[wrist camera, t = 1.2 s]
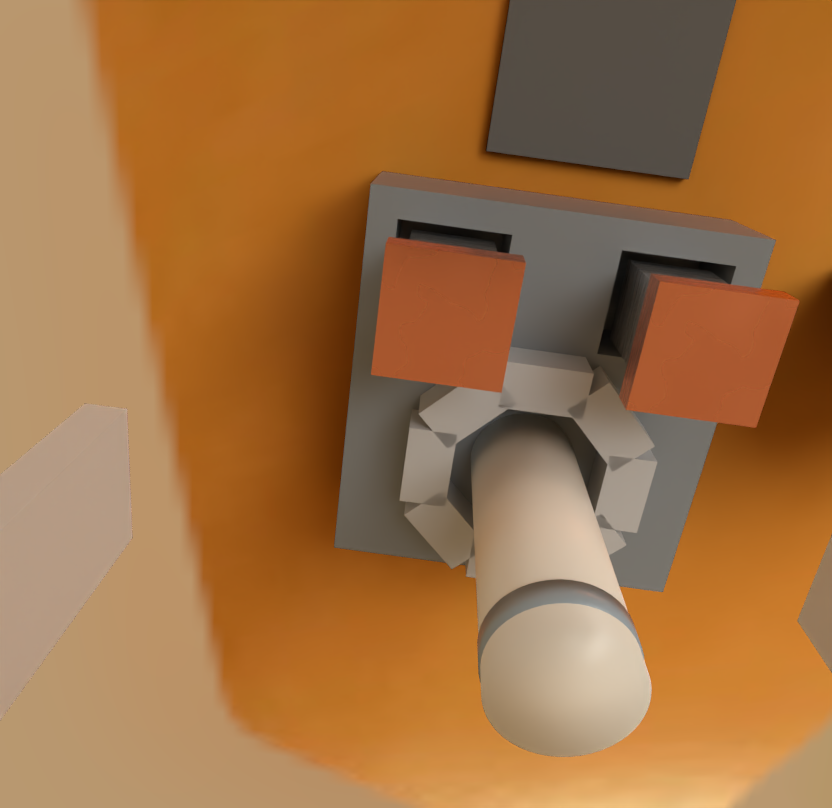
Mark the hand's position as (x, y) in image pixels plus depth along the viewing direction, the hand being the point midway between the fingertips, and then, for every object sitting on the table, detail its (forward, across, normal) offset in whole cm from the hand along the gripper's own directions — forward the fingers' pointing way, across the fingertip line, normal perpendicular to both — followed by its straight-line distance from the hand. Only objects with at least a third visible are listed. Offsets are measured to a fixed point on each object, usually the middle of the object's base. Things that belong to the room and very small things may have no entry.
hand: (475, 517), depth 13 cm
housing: (+23, +4, -4) cm, 24 cm away
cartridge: (+18, +4, -8) cm, 20 cm away
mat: (+23, +5, +10) cm, 25 cm away
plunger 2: (+19, +8, 0) cm, 21 cm away
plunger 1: (+19, -1, 0) cm, 19 cm away
